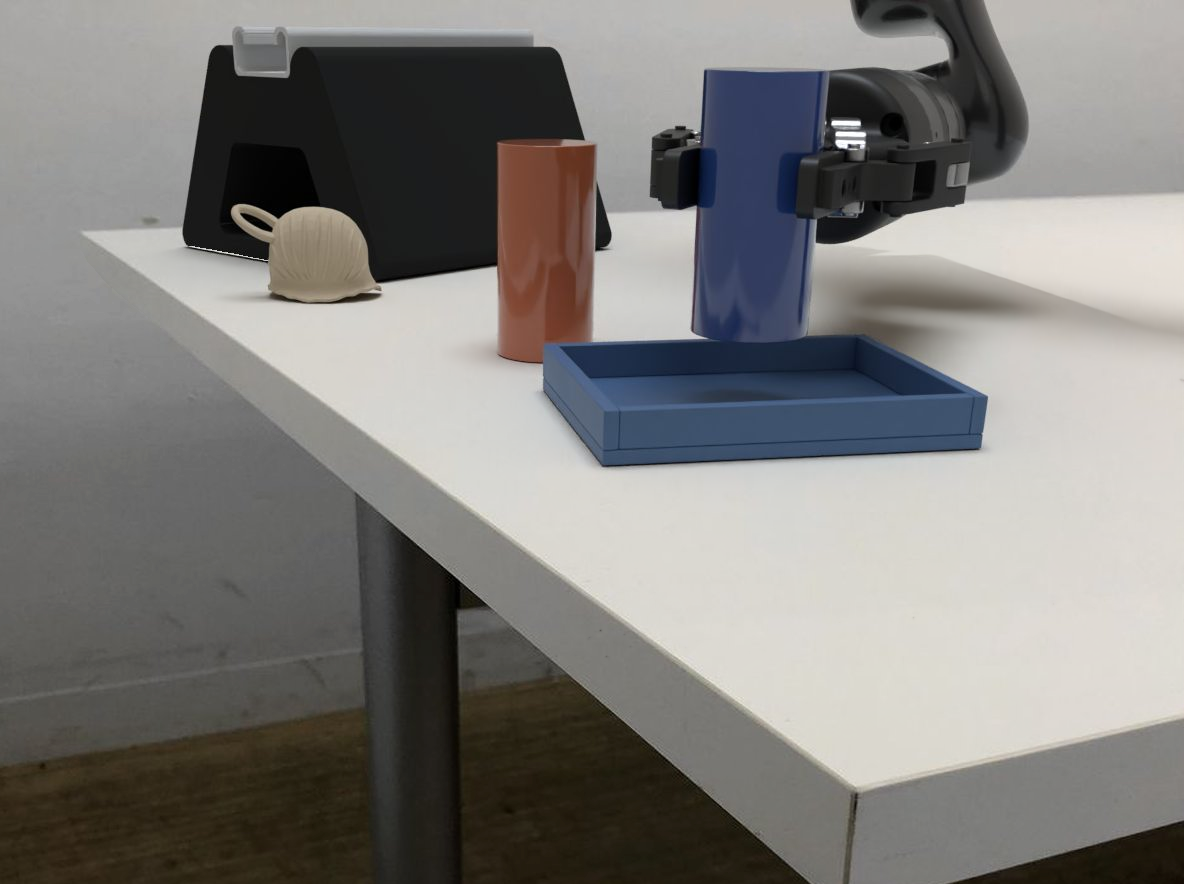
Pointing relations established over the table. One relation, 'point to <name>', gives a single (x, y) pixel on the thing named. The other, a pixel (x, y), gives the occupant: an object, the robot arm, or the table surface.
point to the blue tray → (756, 399)
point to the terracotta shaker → (545, 244)
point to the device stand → (373, 136)
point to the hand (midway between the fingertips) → (737, 185)
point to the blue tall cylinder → (755, 203)
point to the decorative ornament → (312, 253)
